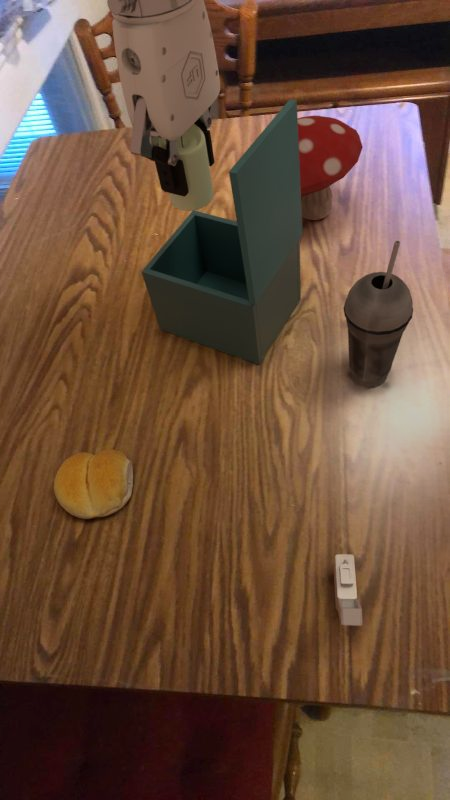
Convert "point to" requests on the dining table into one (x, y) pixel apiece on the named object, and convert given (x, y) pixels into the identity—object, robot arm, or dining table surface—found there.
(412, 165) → the dining table surface
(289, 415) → the dining table surface
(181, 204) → the candle
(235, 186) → the lid
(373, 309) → the beverage cup
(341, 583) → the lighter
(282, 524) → the dining table surface
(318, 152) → the decorative mushroom
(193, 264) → the chest
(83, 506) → the bread roll
